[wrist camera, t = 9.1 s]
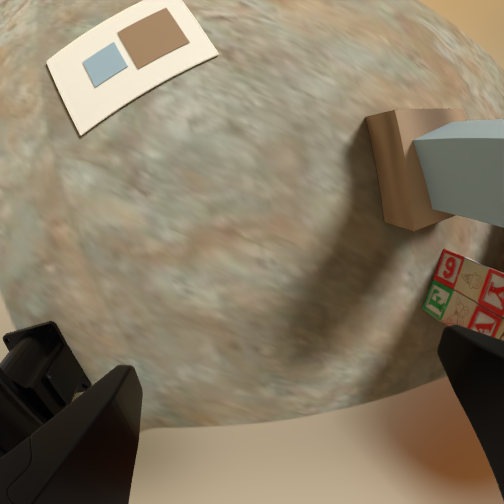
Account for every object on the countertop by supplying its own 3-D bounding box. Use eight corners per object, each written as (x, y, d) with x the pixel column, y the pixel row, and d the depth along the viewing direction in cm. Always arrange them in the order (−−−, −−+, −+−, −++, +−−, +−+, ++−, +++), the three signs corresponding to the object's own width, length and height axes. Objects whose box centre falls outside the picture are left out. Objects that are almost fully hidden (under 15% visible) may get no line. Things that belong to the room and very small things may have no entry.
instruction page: (81, 135, 15) (79, 135, 15) (47, 62, 13) (45, 61, 12) (218, 55, 15) (218, 53, 15) (172, -11, 13) (172, -14, 13)
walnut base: (384, 221, 20) (413, 231, 17) (365, 117, 18) (394, 110, 15) (448, 201, 21) (476, 206, 18) (435, 112, 19) (463, 109, 16)
